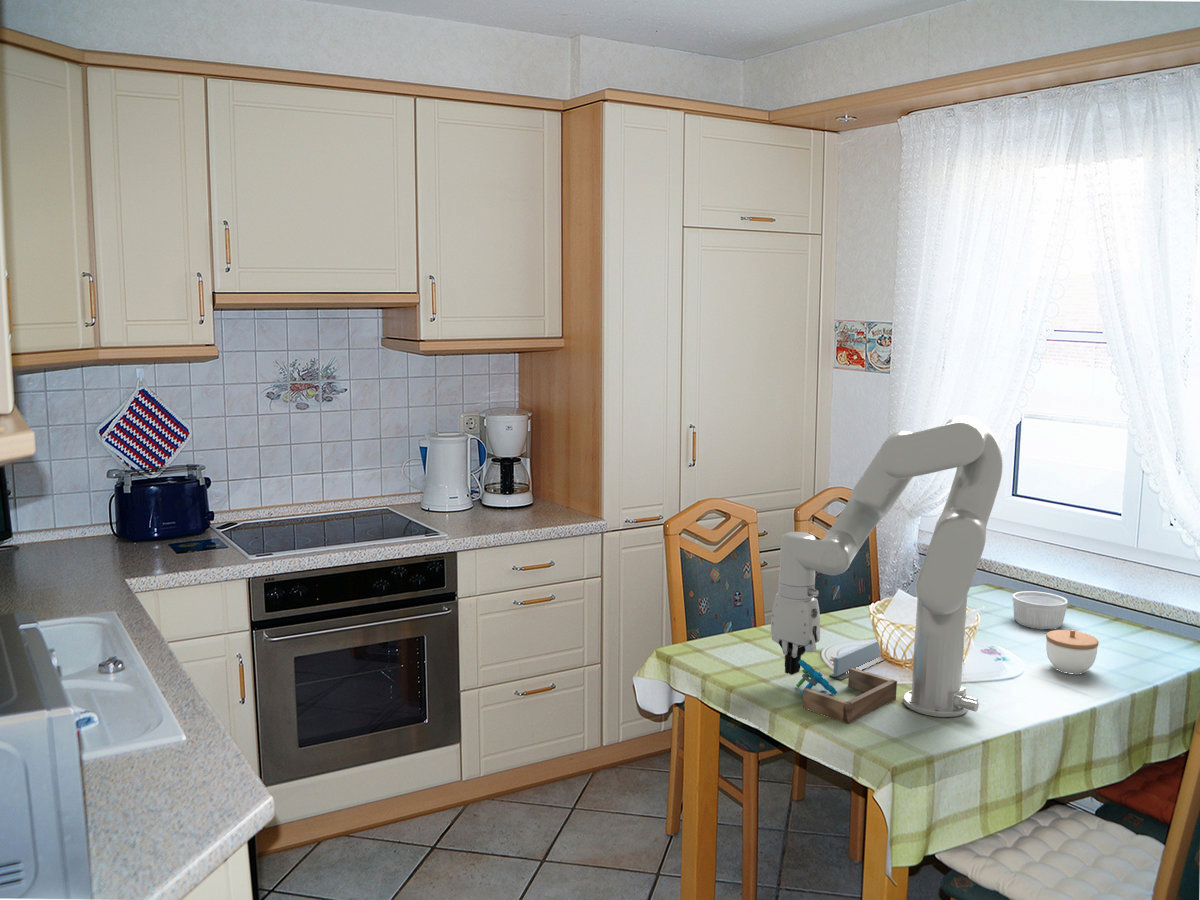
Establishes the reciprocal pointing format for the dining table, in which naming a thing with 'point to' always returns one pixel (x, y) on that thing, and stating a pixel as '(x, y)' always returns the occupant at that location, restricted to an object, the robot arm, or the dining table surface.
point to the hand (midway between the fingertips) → (792, 672)
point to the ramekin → (1039, 609)
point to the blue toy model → (813, 678)
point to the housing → (874, 697)
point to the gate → (856, 657)
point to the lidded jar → (1071, 650)
